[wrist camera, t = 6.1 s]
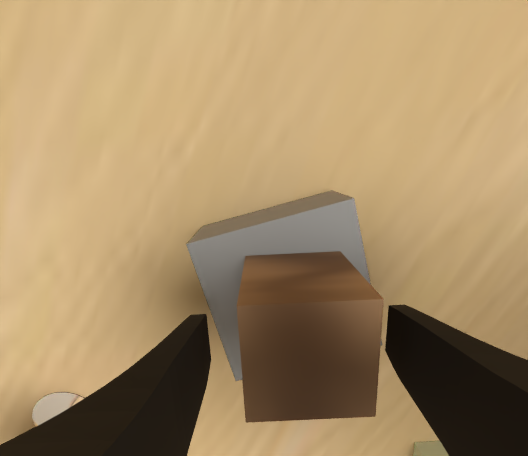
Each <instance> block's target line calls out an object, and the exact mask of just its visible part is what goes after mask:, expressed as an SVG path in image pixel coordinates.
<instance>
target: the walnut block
mask: <svg viewBox="0 0 528 456" xmlns="http://www.w3.org/2000/svg"><path fill="white" fill-rule="evenodd" d="M383 300H384V299H383V298H382V297H381V296H380V295H379V294H378V292H377V291H376V290H375V289H374V288H373V287H372V286H371V285H370V284H369V282H368V281H367V280H366V279H365V278H364V277H363V276H362V275H361V274H360V272H359V271H358V270H357V269H356V268H355V267H354V266H353V265H352V264H351V262H350V261H349V260H348V259H347V258H346V257H345V256H344V255H343V254H342V252H341V251H335V252H314V253H293V254H272V255H251V256H245V261H244V267H243V272H242V278H241V284H240V289H239V295H238V301H237V318H238V330H239V343H240V355H241V368H242V380H243V393H244V405H245V418H246V422H265V421H287V420H309V419H331V418H353V417H375V415H376V401H377V386H378V372H379V357H380V343H381V329H382V314H383Z"/></svg>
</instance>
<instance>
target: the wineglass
mask: <svg viewBox="0 0 528 456" xmlns="http://www.w3.org/2000/svg"><path fill="white" fill-rule="evenodd" d="M83 399H85V398H83V397H81V396H79V395H76V394H71V393H66V392H64V393H53V394H50V395H47V396H44V397H43V398H42V399H40V400H39V401H38V402H37V403H36V405H35V407H34V408H33V414H32V419H33V422H34V426H35V427H36V426H38V425H40V424H42V423H44V422H45V421H47V420H49V419H51V418H53V417H54V416H56V415H58V414H60V413H62V412H63V411H65V410H67V409H68V408H70V407H71V406H73V405H75V404H76V403H78V402H80V401H81V400H83Z"/></svg>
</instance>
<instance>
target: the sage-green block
mask: <svg viewBox="0 0 528 456" xmlns="http://www.w3.org/2000/svg"><path fill="white" fill-rule="evenodd" d="M413 456H449V455H448V453H447V452H446V450H445V448H444V447H443V445H442V443H441V442H440V441H429V442H415V444H414V453H413Z"/></svg>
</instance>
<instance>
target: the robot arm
mask: <svg viewBox="0 0 528 456" xmlns="http://www.w3.org/2000/svg"><path fill="white" fill-rule="evenodd" d="M385 351H386V353H387V355H388V357H389V359H390V361H391V364H392V366H393V368H394V369H395V371H396V373H397V375H398V377H399V379H400V380H401V382H402V383H403V385H404V386H405V388H406V390H407V391H408V393H409V394H410V396H411V397H412V399H413V400H414V402H415V403H416V405H417V406H418V408H419V410H420V411H421V413H422V414H423V416H424V417H425V419H426V420H427V422H428V423H429V425H430V426H431V428H432V429H433V431H434V432H435V434H436V435H437V437H438V438H439V440H440V442H441V443H442V445H443V447H444V448H445V450H446V452H447V453H448V455H449V456H528V360H526V359H523V358H520V357H518V356H515V355H513V354H510V353H508V352H506V351H503V350H501V349H499V348H496V347H494V346H492V345H489V344H487V343H485V342H483V341H480V340H478V339H476V338H474V337H472V336H470V335H467V334H465V333H463V332H461V331H459V330H457V329H455V328H453V327H451V326H449V325H447V324H445V323H443V322H441V321H439V320H437V319H434V318H432V317H430V316H428V315H426V314H424V313H422V312H420V311H418V310H416V309H414V308H411V307H409V306H406V305H390V306H389V310H388V322H387V335H386V348H385ZM210 362H211V354H210V344H209V335H208V326H207V316H206V314H200V315H190V316H189V317H188V318H187V319H186V320H184V321H183V322H182V323H181V324H180V325H179V326H178V327H177V328H176V329H175V330H174V331H173V332H172V333H170V334H169V335H168V336H167V337H166V338H165V339H164V340H163V341H162V342H160V343H159V344H158V345H157V346H156V347H155V348H154V349H152V350H151V351H150V352H149V353H147V354H146V355H145V356H144V357H143V358H141V359H140V360H139V361H138V362H136V363H135V364H134V365H133V366H131V367H130V368H129V369H128V370H126V371H125V372H123V373H122V374H121V375H119V376H118V377H116V378H115V379H114V380H112V381H111V382H109V383H108V384H106V385H105V386H104V387H102V388H101V389H99V390H97V391H96V392H94V393H93V394H91V395H89V396H88V397H86V398H85V399H83V400H81V401H80V402H78V403H76V404H75V405H73V406H71V407H70V408H68V409H67V410H65V411H63V412H62V413H60V414H58V415H56V416H54V417H53V418H51V419H49V420H47V421H45V422H44V423H42V424H40V425H38V426H36V427H34V428H32V429H31V430H29V431H27V432H25V433H23V434H21V435H19V436H17V437H15V438H13V439H11V440H9V441H7V442H5V443H3V444H1V445H0V456H187V453H188V449H189V446H190V442H191V439H192V435H193V432H194V428H195V425H196V421H197V418H198V414H199V411H200V407H201V404H202V400H203V397H204V393H205V390H206V386H207V381H208V375H209V369H210Z"/></svg>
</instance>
